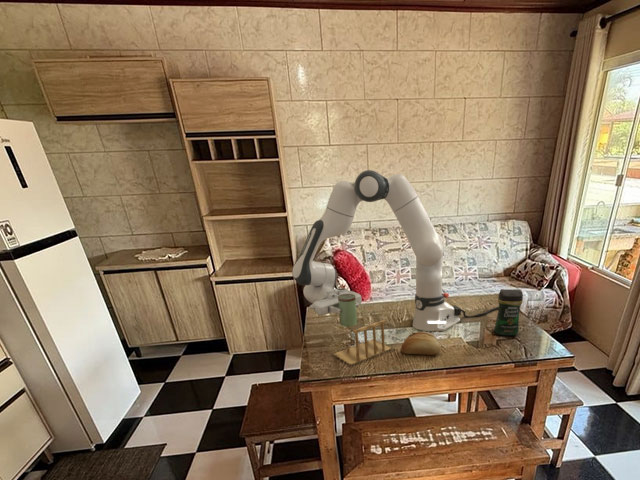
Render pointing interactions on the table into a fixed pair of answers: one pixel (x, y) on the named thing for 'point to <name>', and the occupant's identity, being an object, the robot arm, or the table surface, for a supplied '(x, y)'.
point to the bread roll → (421, 344)
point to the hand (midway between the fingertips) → (349, 308)
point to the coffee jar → (508, 312)
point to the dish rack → (364, 345)
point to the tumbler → (347, 309)
